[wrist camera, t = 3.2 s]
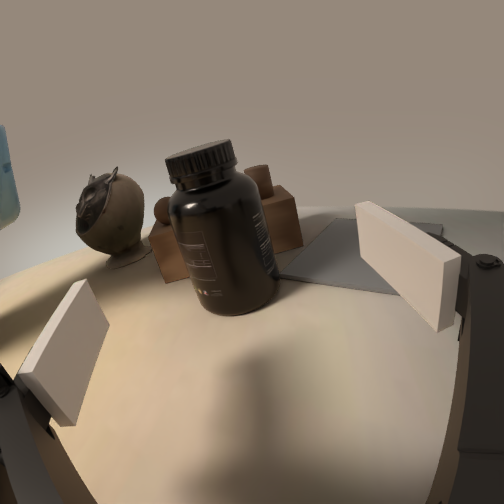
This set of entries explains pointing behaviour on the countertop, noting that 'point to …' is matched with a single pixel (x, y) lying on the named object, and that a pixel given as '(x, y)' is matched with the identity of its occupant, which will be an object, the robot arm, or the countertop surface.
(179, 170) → the supplement bottle
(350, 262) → the slate mat
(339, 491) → the countertop surface
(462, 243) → the countertop surface
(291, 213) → the plane body block
